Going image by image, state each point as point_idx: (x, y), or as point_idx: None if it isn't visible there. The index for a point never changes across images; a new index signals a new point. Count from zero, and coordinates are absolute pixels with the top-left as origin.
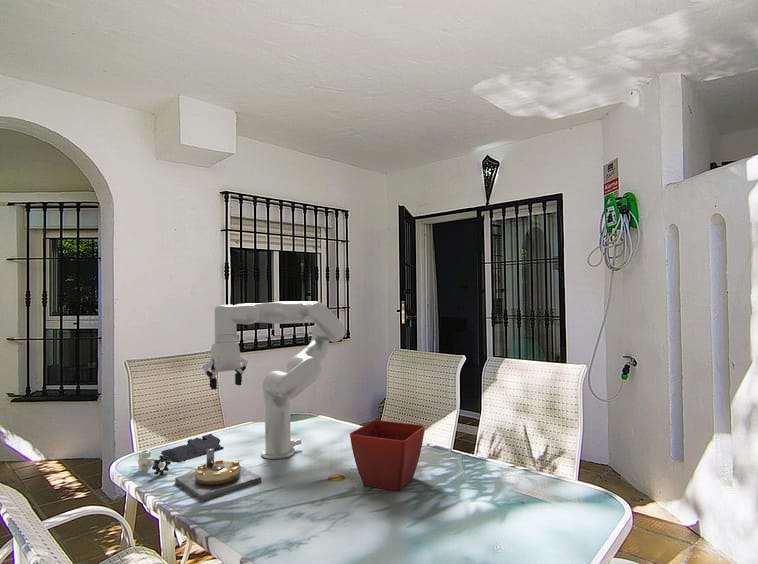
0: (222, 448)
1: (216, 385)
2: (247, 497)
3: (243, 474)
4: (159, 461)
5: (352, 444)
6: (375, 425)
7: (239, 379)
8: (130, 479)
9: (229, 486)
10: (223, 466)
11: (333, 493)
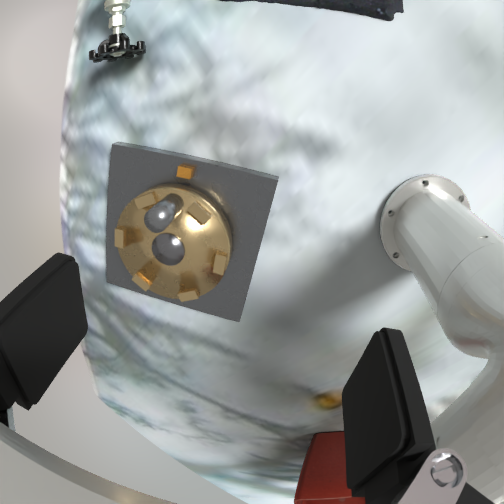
0: (387, 18)
1: (69, 353)
2: (175, 333)
3: (225, 279)
4: (101, 56)
5: (297, 486)
6: None
7: (347, 442)
8: (79, 31)
9: (162, 299)
10: (180, 257)
11: (269, 418)
